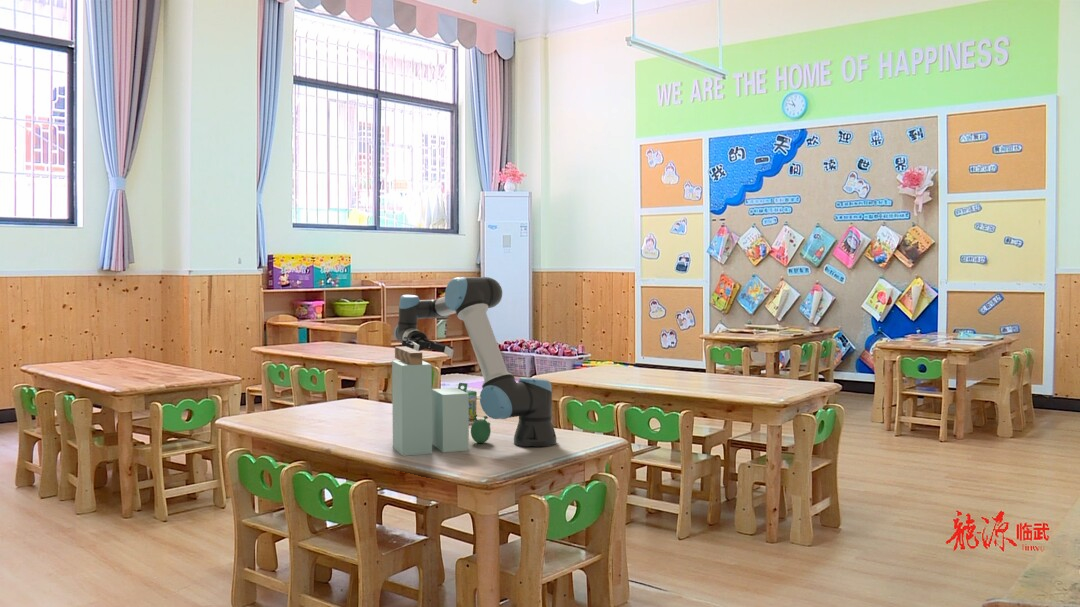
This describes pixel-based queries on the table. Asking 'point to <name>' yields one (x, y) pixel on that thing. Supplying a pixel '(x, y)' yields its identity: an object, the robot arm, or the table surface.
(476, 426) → the alien toy
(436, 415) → the step shelf
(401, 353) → the walnut rod
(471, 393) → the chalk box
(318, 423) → the table surface
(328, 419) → the table surface
